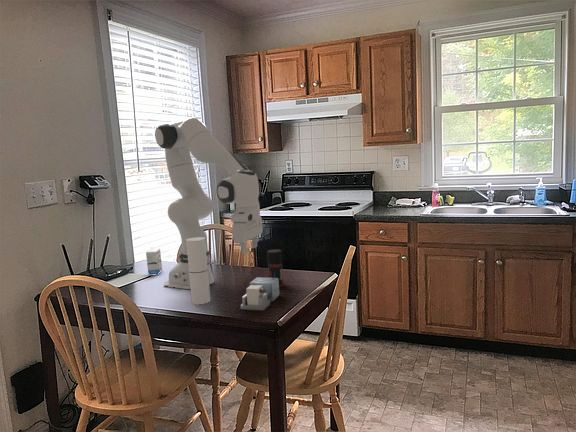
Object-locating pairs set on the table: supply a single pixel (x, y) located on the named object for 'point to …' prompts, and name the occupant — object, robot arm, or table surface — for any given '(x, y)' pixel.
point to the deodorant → (275, 265)
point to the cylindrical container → (198, 270)
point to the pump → (254, 294)
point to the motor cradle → (264, 300)
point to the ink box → (154, 261)
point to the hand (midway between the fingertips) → (249, 250)
